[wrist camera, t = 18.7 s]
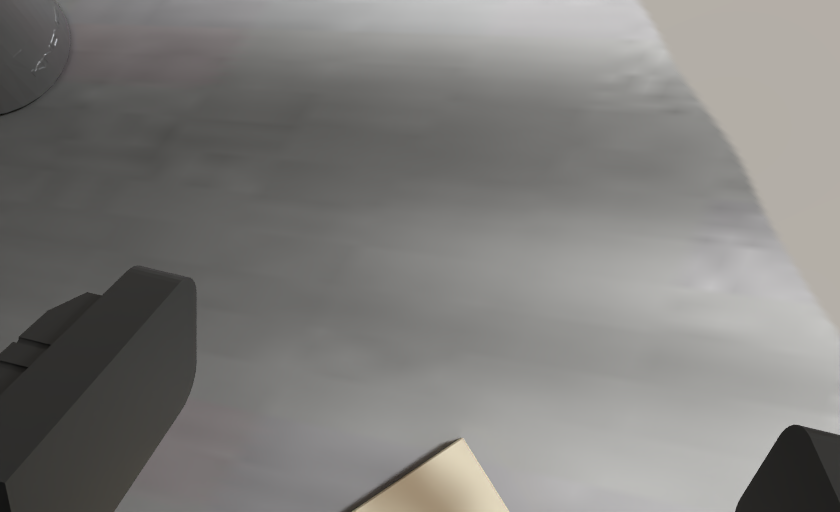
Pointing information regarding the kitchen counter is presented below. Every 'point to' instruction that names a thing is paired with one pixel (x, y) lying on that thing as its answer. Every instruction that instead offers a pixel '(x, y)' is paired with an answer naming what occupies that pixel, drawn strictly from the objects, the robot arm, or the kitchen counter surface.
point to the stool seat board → (440, 486)
